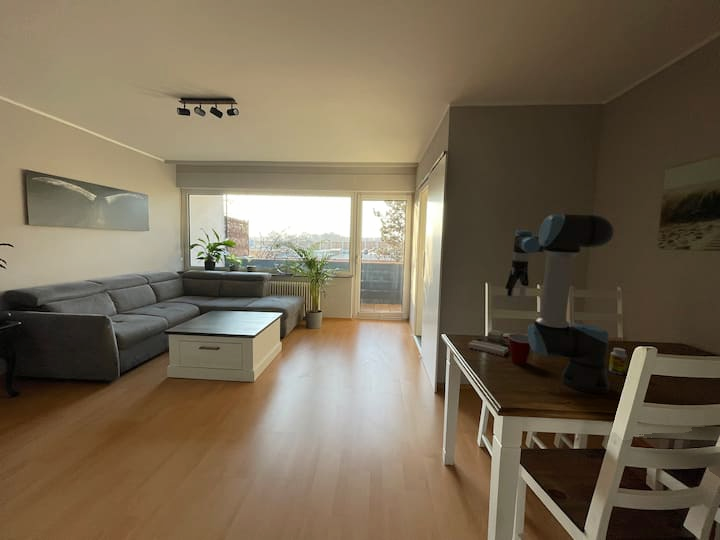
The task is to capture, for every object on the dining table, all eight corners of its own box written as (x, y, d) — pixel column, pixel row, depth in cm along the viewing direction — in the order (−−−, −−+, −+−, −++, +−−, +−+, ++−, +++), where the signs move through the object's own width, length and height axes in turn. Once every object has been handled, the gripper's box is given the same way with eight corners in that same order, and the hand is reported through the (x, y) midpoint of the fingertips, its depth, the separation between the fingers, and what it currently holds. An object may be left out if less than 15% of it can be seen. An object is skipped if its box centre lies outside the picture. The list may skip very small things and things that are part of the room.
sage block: (499, 342, 167) (499, 335, 166) (487, 340, 170) (487, 332, 170) (502, 339, 172) (503, 332, 172) (491, 337, 176) (491, 330, 176)
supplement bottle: (610, 372, 138) (612, 349, 137) (607, 368, 142) (610, 346, 142) (626, 375, 135) (629, 352, 134) (623, 371, 140) (626, 348, 139)
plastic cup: (508, 365, 142) (510, 339, 141) (503, 357, 153) (505, 332, 152) (535, 368, 140) (537, 341, 138) (528, 359, 150) (530, 334, 149)
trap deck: (503, 356, 154) (504, 351, 154) (468, 348, 164) (468, 343, 164) (513, 346, 170) (514, 341, 169) (481, 339, 180) (481, 335, 180)
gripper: (524, 256, 178) (520, 293, 183) (501, 261, 163) (496, 301, 168) (538, 258, 173) (533, 296, 177) (515, 264, 157) (510, 305, 162)
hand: (515, 299), depth 172 cm, fingers open, 13 cm apart
